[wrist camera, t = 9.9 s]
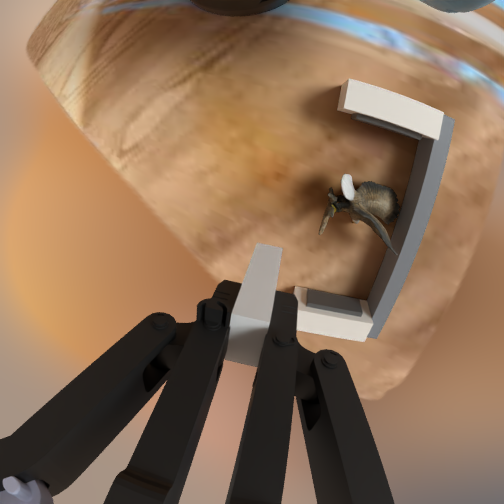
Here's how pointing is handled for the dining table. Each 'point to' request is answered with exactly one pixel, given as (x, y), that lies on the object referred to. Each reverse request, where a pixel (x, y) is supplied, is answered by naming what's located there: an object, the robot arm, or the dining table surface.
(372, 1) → the dining table surface
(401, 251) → the rail
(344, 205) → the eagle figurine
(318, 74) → the dining table surface
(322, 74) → the dining table surface
